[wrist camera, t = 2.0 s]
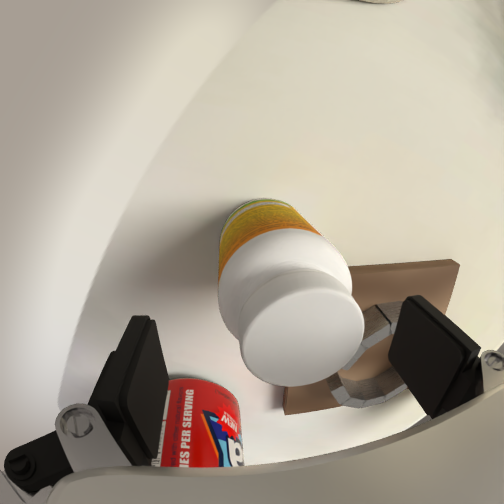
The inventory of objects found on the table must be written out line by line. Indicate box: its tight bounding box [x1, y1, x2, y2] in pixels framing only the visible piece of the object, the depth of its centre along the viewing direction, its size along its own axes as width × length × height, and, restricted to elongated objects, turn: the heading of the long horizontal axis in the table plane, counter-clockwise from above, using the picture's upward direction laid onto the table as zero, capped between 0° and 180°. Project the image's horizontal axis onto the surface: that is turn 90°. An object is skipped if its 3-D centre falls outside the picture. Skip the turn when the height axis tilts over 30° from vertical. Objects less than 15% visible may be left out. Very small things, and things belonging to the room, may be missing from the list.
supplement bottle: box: [218, 198, 364, 387], centre depth 13 cm, size 5×5×10 cm
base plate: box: [283, 259, 460, 415], centre depth 21 cm, size 14×14×1 cm
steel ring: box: [325, 301, 407, 408], centre depth 19 cm, size 9×9×2 cm
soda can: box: [151, 378, 245, 468], centre depth 15 cm, size 8×8×15 cm
